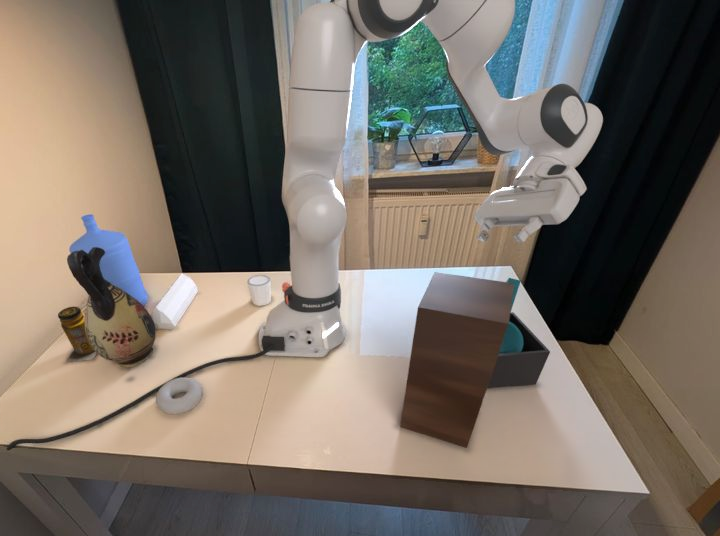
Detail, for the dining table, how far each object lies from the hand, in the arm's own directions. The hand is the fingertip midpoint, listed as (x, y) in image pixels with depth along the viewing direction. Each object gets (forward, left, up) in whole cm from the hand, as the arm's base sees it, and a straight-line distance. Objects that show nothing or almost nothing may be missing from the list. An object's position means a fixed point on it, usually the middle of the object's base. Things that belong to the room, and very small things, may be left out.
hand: (498, 239), depth 78 cm
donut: (-70, -15, -24) cm, 76 cm away
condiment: (-100, +7, -24) cm, 103 cm away
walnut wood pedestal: (-17, -25, -24) cm, 39 cm away
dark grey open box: (-2, -12, -24) cm, 27 cm away
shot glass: (-53, +25, -24) cm, 64 cm away
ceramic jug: (-86, +2, -24) cm, 89 cm away
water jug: (-97, +30, -24) cm, 104 cm away
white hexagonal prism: (-79, +24, -24) cm, 86 cm away
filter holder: (+1, -6, -18) cm, 19 cm away
